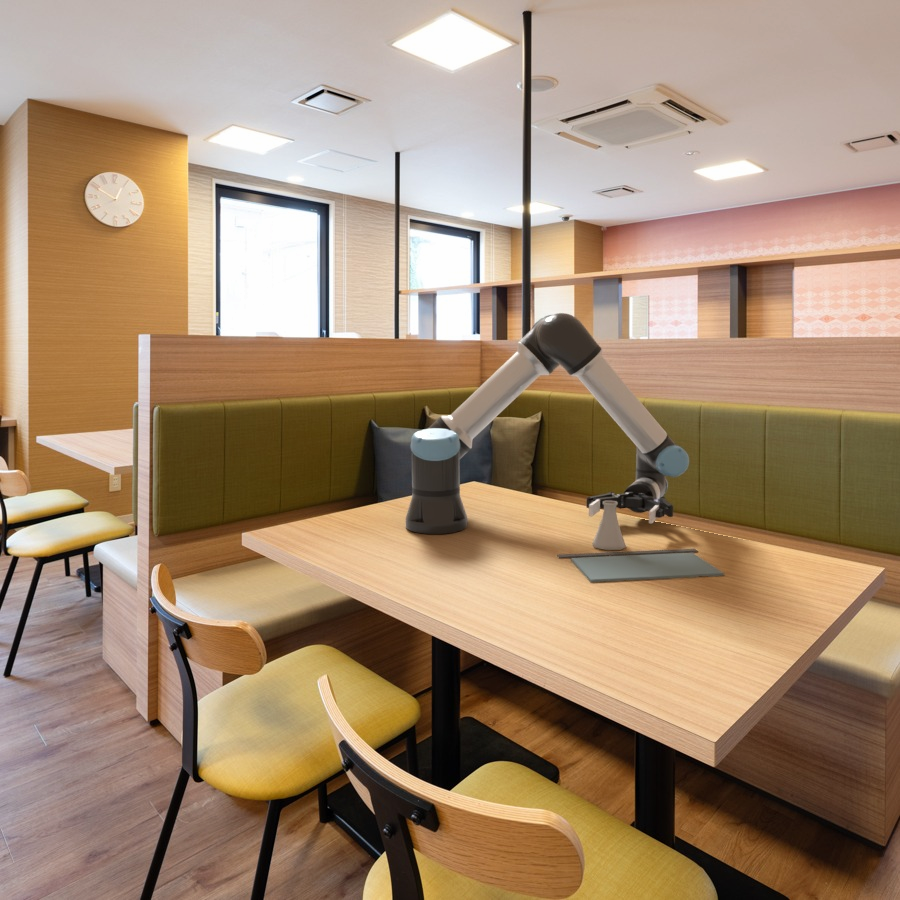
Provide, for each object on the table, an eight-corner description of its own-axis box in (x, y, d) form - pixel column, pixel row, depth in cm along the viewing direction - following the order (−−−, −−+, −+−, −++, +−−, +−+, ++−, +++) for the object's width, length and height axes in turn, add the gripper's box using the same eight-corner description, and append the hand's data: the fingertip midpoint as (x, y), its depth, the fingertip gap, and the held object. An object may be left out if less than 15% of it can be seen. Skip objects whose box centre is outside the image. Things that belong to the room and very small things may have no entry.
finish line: (559, 558, 139) (559, 556, 139) (557, 555, 141) (557, 554, 141) (697, 552, 142) (697, 550, 142) (694, 549, 144) (694, 548, 144)
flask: (627, 543, 149) (628, 499, 148) (624, 552, 143) (625, 506, 141) (594, 540, 152) (595, 497, 150) (590, 549, 145) (590, 504, 144)
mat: (590, 582, 125) (590, 579, 125) (570, 560, 138) (570, 558, 138) (723, 575, 128) (724, 573, 128) (692, 554, 140) (692, 552, 140)
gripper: (692, 515, 165) (676, 537, 146) (593, 504, 177) (566, 523, 158) (694, 485, 164) (678, 503, 145) (593, 476, 175) (567, 492, 157)
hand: (619, 514), depth 152 cm, fingers open, 13 cm apart
